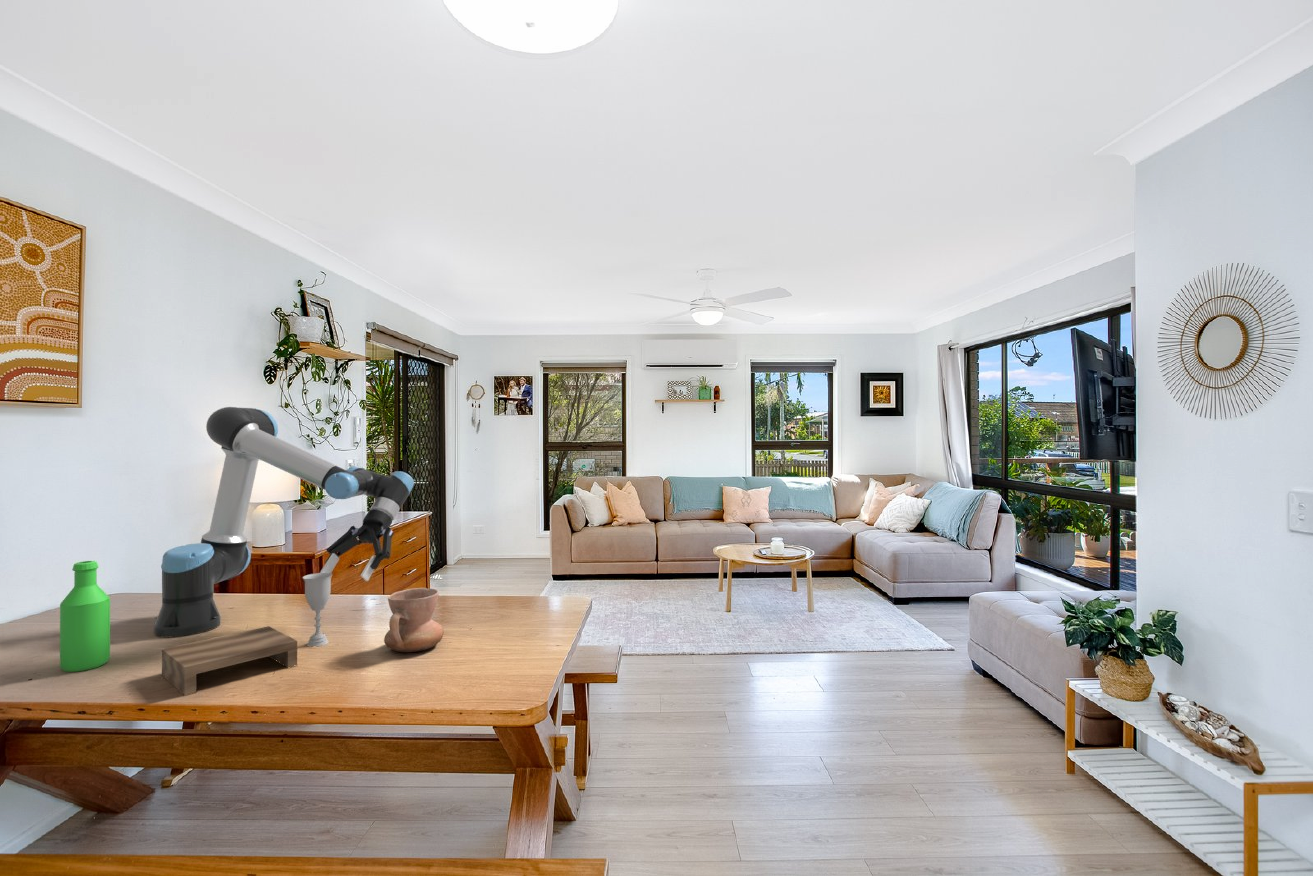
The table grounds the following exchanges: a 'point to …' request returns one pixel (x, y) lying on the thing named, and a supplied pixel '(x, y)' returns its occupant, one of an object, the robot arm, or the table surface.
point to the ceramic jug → (413, 620)
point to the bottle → (84, 622)
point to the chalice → (317, 601)
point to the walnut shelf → (224, 654)
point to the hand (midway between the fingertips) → (343, 577)
